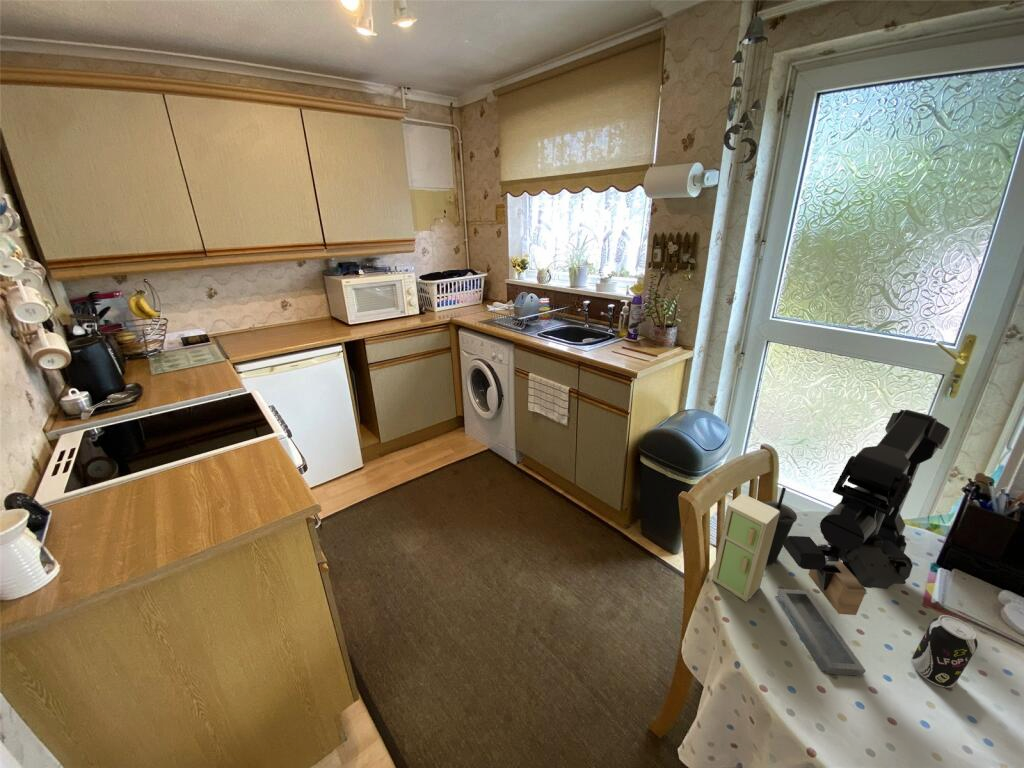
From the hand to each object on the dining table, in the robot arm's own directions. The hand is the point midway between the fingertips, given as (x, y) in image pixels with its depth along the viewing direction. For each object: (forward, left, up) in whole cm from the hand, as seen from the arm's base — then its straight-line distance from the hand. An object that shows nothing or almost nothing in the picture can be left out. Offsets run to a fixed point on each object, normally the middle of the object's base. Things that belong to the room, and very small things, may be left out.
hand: (832, 588), depth 77 cm
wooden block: (0, 0, -1) cm, 1 cm away
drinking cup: (-20, 0, -12) cm, 23 cm away
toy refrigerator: (-11, -11, -12) cm, 20 cm away
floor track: (0, 0, -12) cm, 12 cm away
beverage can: (+7, +16, -12) cm, 21 cm away
